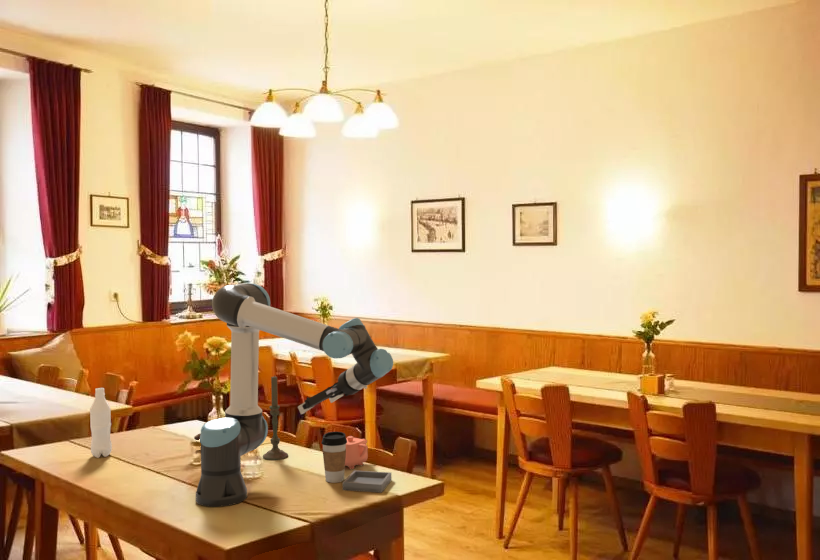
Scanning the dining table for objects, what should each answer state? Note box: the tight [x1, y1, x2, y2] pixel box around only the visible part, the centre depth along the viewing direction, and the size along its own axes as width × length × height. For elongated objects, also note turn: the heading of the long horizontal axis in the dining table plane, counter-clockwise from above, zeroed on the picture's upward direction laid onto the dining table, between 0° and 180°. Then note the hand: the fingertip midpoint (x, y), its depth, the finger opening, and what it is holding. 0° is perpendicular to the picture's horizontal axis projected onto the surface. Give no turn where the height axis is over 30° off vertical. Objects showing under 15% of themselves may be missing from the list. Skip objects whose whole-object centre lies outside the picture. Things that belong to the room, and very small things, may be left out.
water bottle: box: [89, 387, 113, 459], centre depth 270 cm, size 7×7×25 cm
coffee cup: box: [321, 431, 347, 484], centre depth 239 cm, size 8×8×15 cm
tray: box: [342, 469, 392, 494], centre depth 234 cm, size 13×13×2 cm
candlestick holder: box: [262, 375, 289, 461], centre depth 267 cm, size 9×9×30 cm
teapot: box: [345, 435, 369, 470], centre depth 256 cm, size 14×12×10 cm
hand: (315, 404), depth 240 cm, fingers open, 13 cm apart
